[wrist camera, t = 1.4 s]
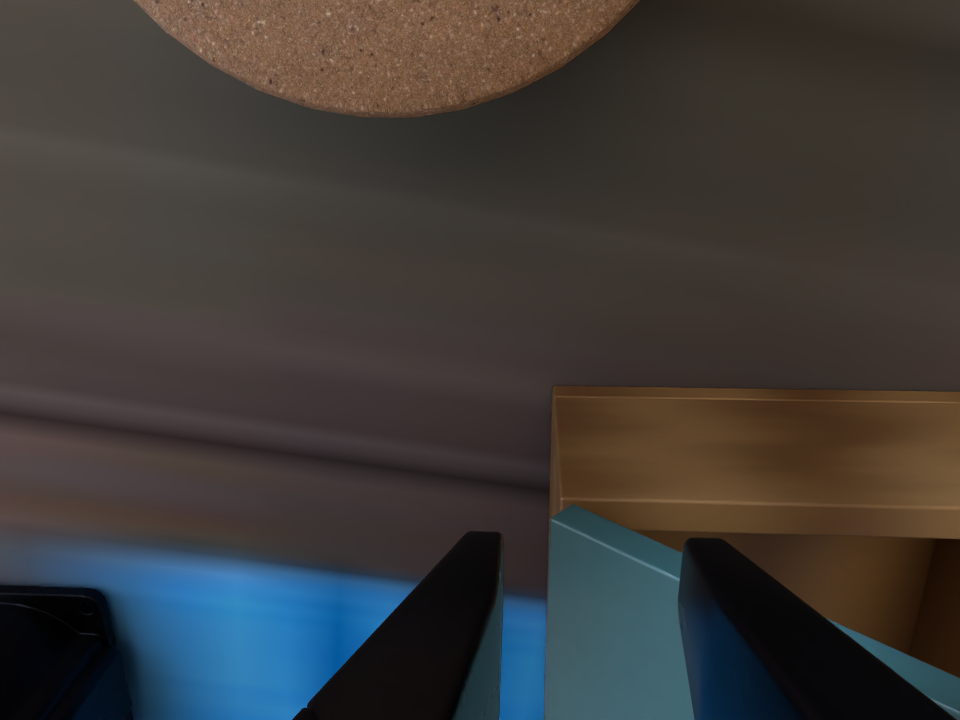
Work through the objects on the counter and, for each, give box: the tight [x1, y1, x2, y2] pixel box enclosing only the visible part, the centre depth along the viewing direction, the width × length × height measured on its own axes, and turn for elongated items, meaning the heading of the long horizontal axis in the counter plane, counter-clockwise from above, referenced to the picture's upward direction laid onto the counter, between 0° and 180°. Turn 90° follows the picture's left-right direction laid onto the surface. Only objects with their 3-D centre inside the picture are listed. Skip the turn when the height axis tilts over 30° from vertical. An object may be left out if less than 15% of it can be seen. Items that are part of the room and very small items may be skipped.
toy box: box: [544, 386, 960, 720], centre depth 22 cm, size 12×16×6 cm
